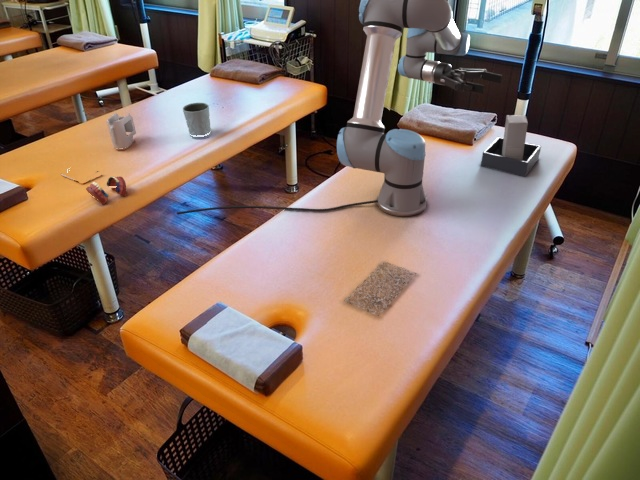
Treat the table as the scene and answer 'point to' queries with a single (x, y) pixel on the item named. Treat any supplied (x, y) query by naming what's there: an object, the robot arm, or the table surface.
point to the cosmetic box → (514, 136)
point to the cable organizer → (121, 130)
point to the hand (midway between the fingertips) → (492, 84)
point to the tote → (510, 165)
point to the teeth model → (113, 181)
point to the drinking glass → (197, 119)
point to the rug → (381, 288)
